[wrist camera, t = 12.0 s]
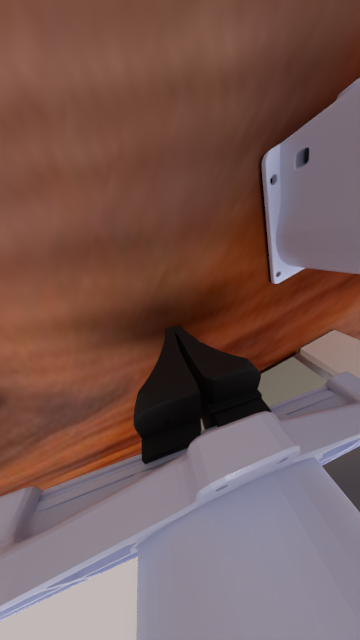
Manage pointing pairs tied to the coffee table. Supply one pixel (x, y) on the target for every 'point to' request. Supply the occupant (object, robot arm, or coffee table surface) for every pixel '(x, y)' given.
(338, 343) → the door frame
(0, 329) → the coffee table surface
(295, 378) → the door
